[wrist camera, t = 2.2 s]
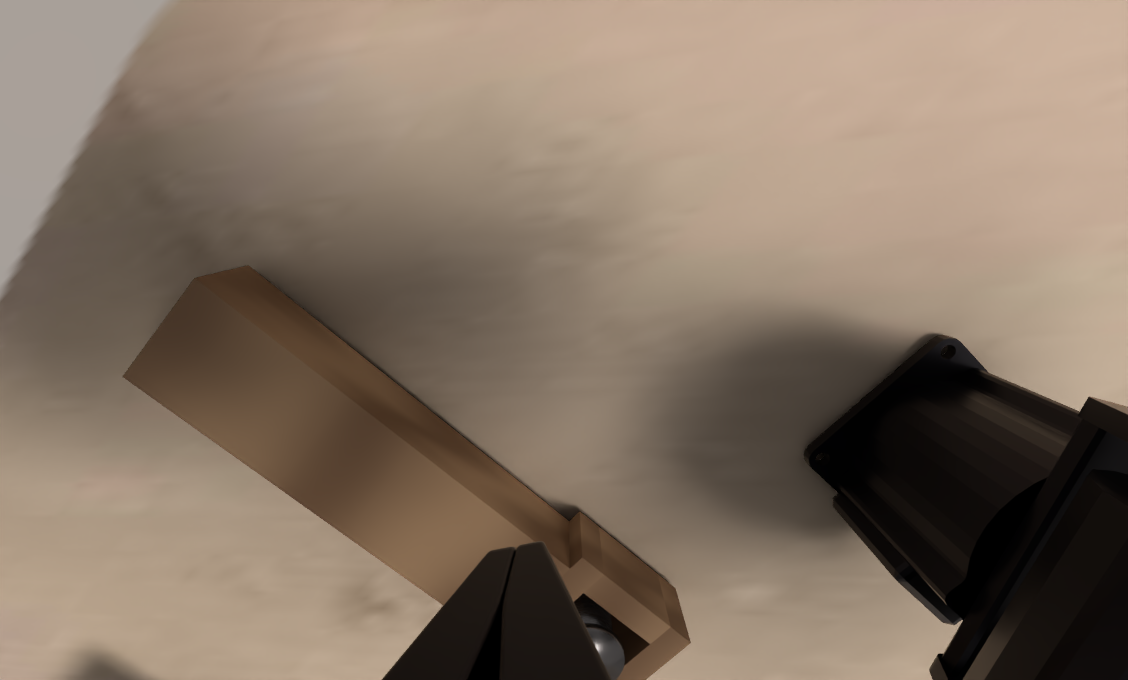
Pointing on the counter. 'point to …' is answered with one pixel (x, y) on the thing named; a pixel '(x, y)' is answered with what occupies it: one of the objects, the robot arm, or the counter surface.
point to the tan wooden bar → (378, 457)
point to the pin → (602, 634)
